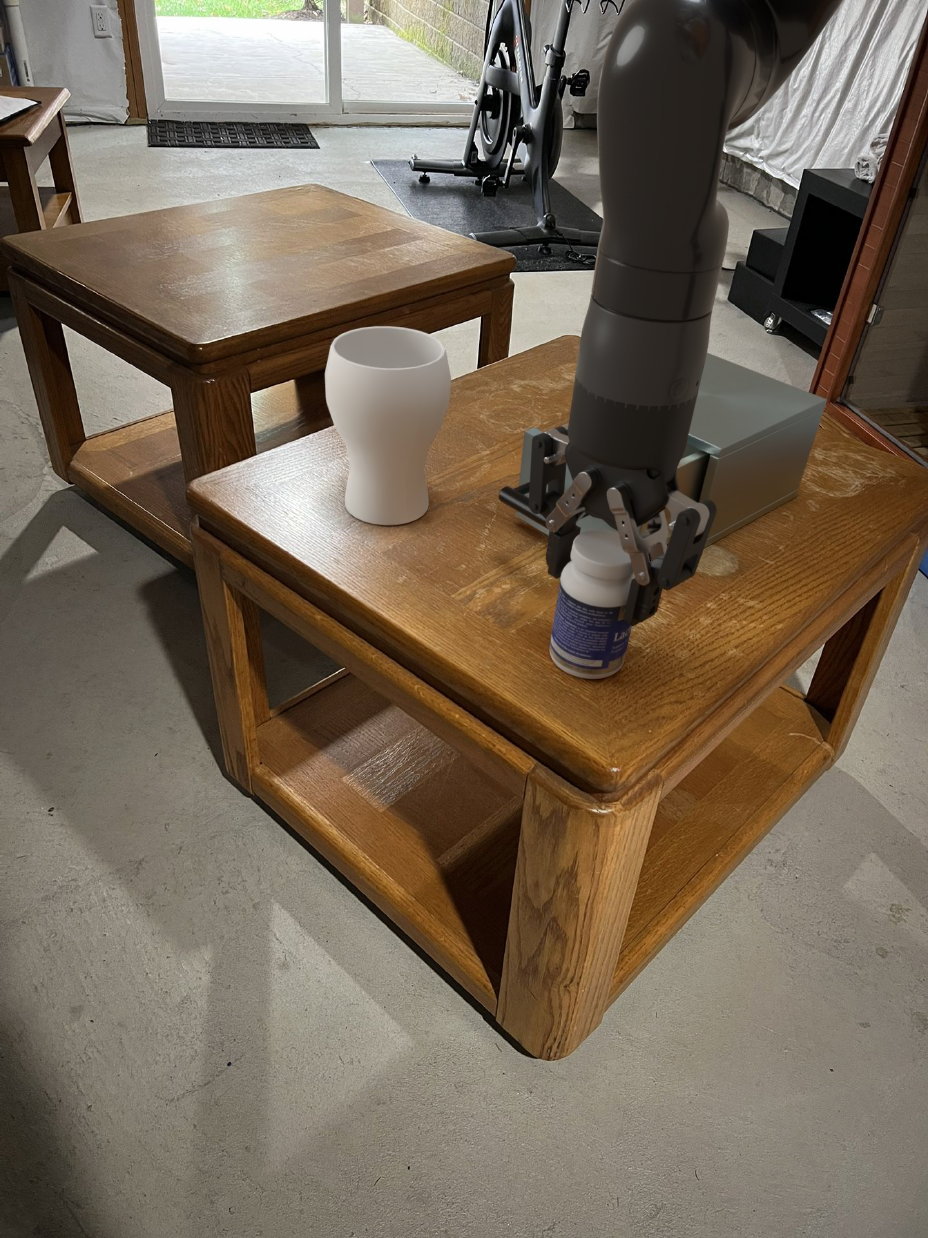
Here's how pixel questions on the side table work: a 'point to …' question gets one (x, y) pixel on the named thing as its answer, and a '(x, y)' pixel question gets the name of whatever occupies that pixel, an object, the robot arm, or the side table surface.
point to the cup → (387, 417)
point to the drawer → (518, 498)
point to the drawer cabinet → (750, 441)
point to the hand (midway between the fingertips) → (597, 595)
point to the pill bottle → (593, 607)
